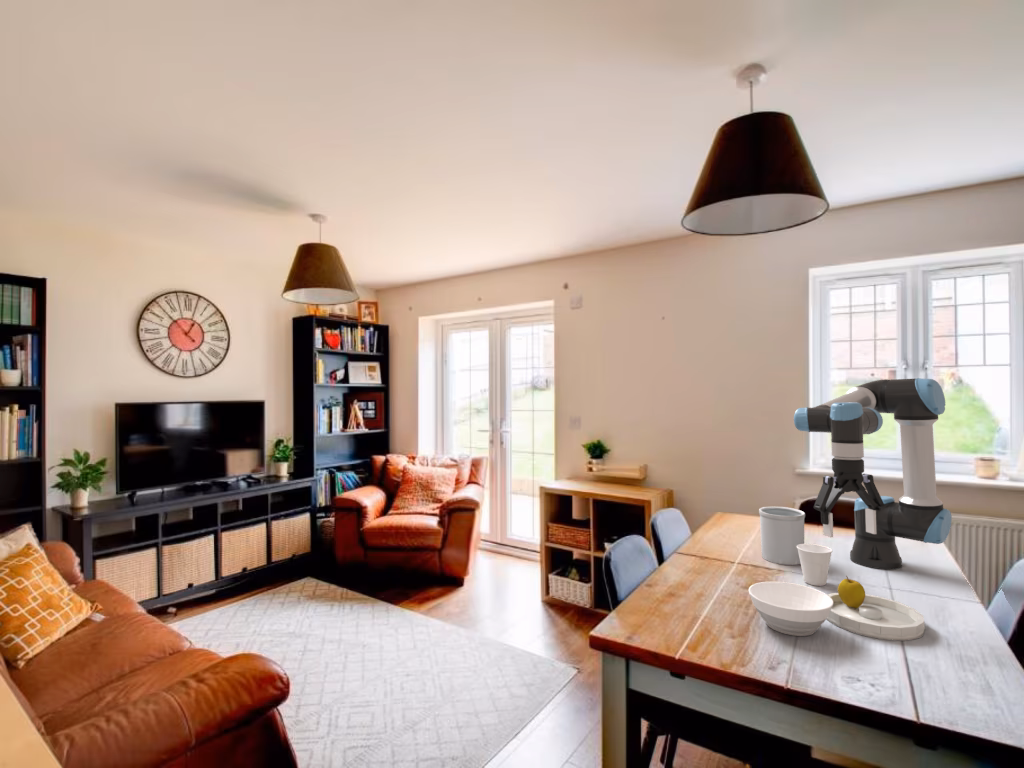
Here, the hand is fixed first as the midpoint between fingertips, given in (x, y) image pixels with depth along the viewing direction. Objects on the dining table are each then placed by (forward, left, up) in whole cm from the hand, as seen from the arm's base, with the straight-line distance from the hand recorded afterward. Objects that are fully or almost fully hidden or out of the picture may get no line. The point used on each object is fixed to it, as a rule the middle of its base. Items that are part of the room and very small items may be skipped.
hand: (849, 534), depth 144 cm
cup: (-6, -21, -21) cm, 30 cm away
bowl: (+23, +5, -21) cm, 32 cm away
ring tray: (0, +6, -21) cm, 22 cm away
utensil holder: (-12, -44, -21) cm, 50 cm away
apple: (0, 0, -20) cm, 20 cm away
